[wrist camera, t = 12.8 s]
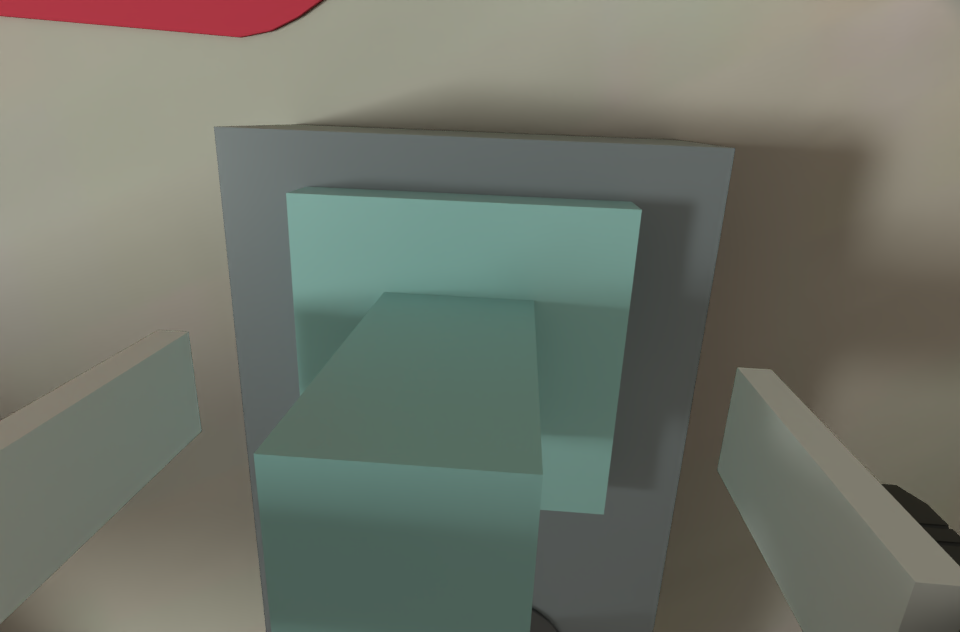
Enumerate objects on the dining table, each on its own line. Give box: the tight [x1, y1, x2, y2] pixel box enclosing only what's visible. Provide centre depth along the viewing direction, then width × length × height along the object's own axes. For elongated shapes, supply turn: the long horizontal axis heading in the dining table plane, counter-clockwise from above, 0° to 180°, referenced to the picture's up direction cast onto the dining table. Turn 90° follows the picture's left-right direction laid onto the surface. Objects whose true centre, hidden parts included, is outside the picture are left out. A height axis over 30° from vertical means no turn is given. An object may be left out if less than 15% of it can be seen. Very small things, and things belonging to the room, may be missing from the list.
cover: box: [254, 187, 642, 632], centre depth 13 cm, size 9×9×10 cm
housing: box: [214, 124, 735, 632], centre depth 22 cm, size 14×22×6 cm, turn 178°
